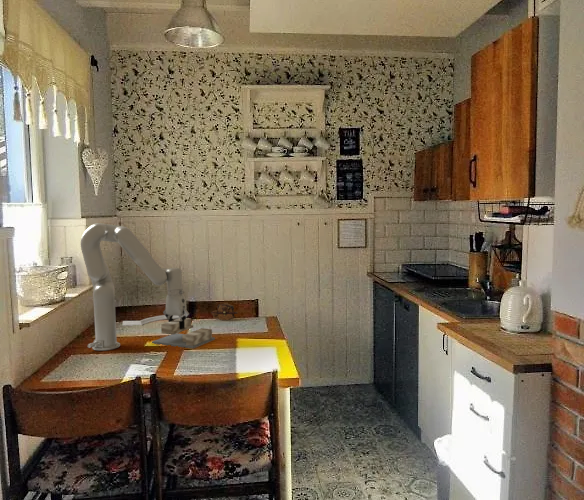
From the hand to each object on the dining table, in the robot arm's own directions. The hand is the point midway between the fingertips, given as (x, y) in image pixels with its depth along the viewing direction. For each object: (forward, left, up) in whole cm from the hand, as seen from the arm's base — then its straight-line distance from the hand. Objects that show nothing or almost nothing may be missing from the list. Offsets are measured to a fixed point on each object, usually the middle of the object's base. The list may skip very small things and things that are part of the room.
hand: (176, 327), depth 251 cm
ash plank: (0, 0, -1) cm, 1 cm away
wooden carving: (+49, +3, -7) cm, 49 cm away
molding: (+35, +44, -7) cm, 57 cm away
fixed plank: (0, -13, -7) cm, 14 cm away
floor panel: (0, -4, -7) cm, 8 cm away
